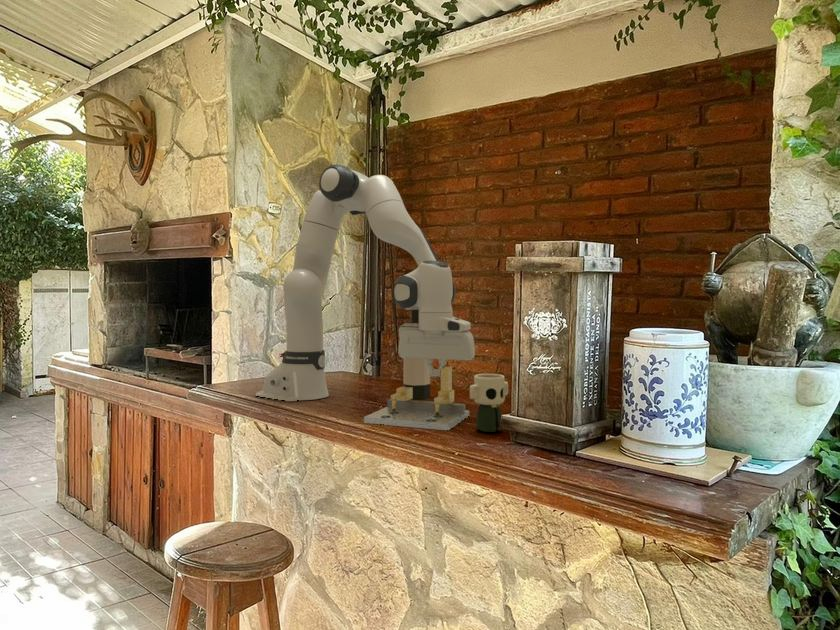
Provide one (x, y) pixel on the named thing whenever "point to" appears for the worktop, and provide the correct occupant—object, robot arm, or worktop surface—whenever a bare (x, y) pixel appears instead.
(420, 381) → the wine bottle
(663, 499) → the worktop surface
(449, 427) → the flange plate
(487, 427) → the character mug
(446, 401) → the sliding leg
